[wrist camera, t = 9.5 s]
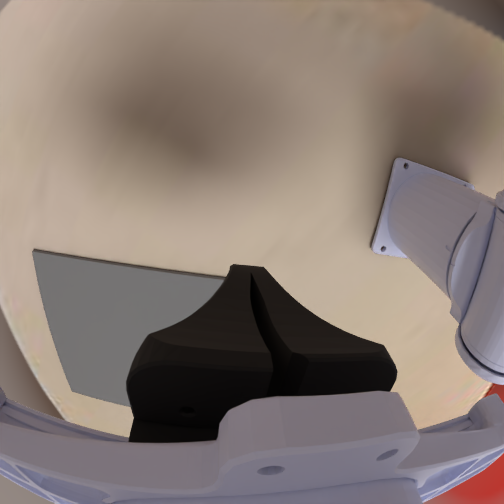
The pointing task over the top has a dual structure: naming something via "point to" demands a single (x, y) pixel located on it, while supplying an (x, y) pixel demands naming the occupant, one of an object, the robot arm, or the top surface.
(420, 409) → the top surface
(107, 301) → the charcoal mat
